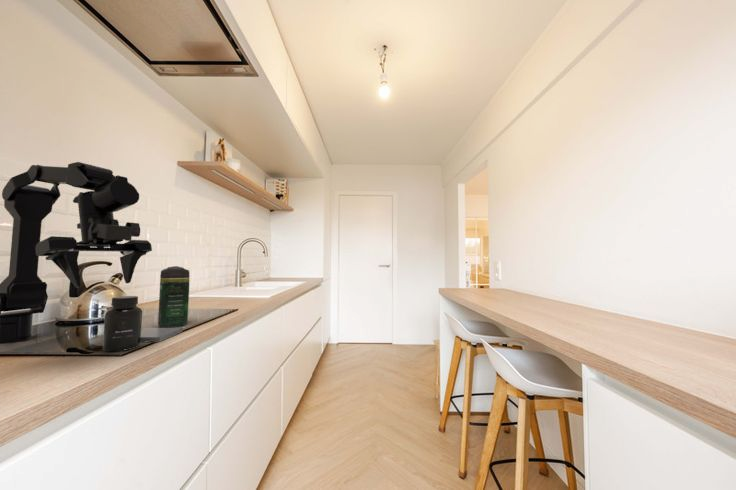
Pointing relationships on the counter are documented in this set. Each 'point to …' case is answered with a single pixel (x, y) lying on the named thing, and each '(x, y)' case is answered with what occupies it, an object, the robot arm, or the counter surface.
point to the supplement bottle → (122, 324)
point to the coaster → (158, 334)
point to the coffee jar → (173, 297)
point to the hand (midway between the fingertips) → (104, 284)
